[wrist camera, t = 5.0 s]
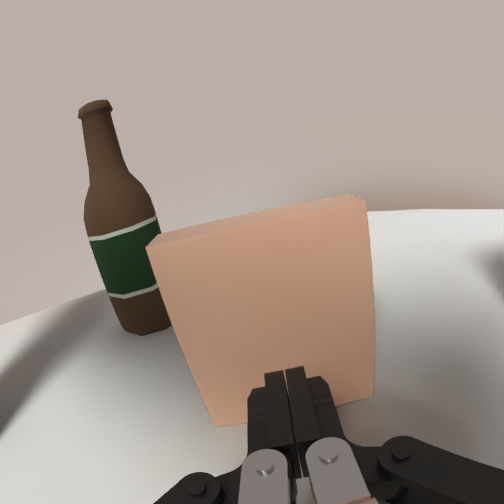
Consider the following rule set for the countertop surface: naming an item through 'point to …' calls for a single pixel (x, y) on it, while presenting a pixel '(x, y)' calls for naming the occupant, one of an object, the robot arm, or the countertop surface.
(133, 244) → the beer bottle
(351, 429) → the countertop surface
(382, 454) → the robot arm
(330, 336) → the tile
